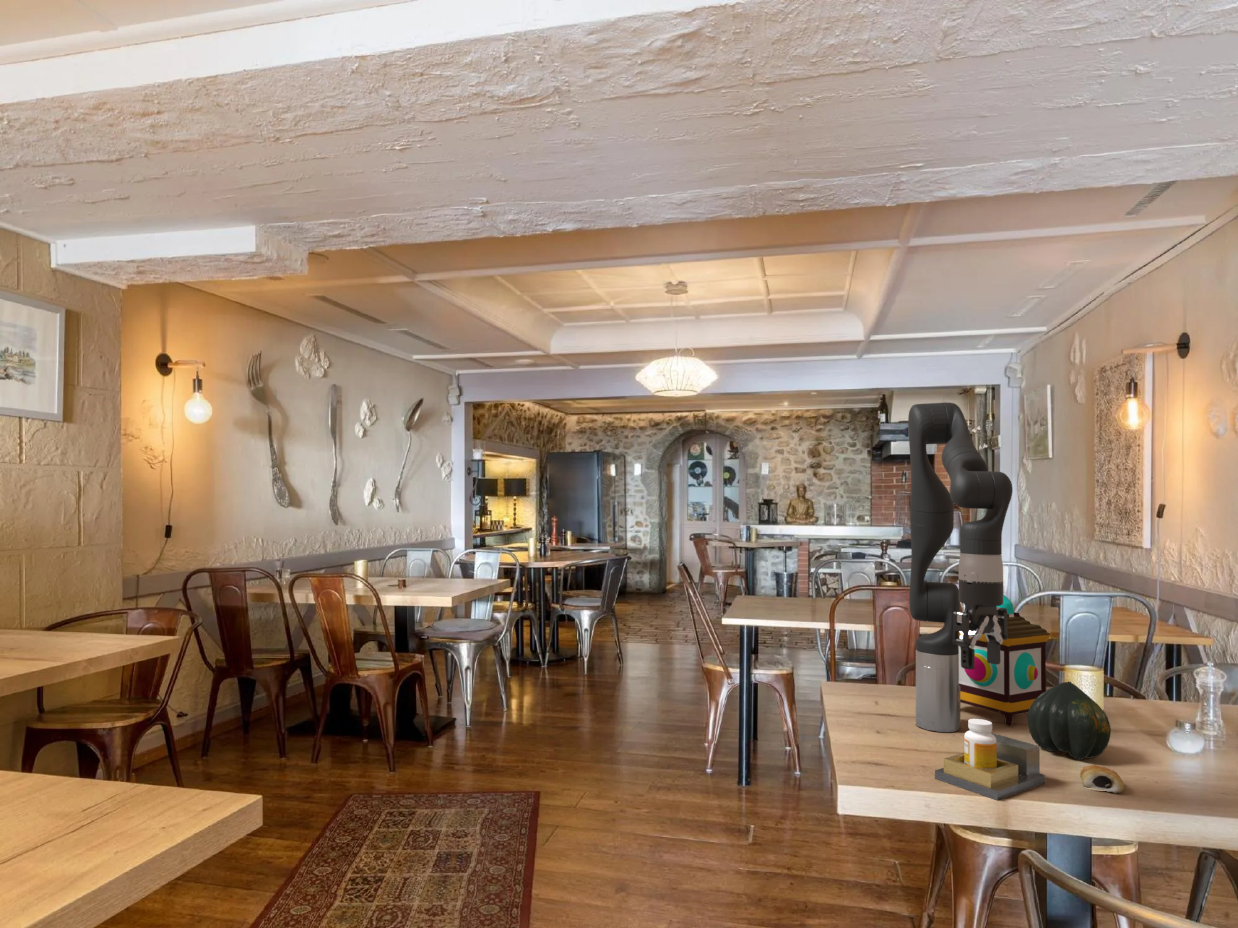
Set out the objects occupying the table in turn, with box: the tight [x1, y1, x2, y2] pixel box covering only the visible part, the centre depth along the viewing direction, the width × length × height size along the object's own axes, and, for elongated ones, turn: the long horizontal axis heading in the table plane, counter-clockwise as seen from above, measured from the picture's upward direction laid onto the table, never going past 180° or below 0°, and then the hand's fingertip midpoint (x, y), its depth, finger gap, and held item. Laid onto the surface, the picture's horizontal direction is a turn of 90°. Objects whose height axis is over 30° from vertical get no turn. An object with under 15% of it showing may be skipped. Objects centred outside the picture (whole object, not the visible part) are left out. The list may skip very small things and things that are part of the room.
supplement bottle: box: [963, 718, 997, 771], centre depth 138 cm, size 5×5×10 cm
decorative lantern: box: [959, 594, 1051, 728], centre depth 187 cm, size 20×20×30 cm
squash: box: [1026, 680, 1112, 760], centre depth 158 cm, size 14×15×15 cm
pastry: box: [1079, 764, 1125, 794], centre depth 139 cm, size 9×7×4 cm
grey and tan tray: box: [934, 732, 1046, 801], centre depth 140 cm, size 16×12×6 cm
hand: (980, 666), depth 139 cm, fingers open, 8 cm apart
